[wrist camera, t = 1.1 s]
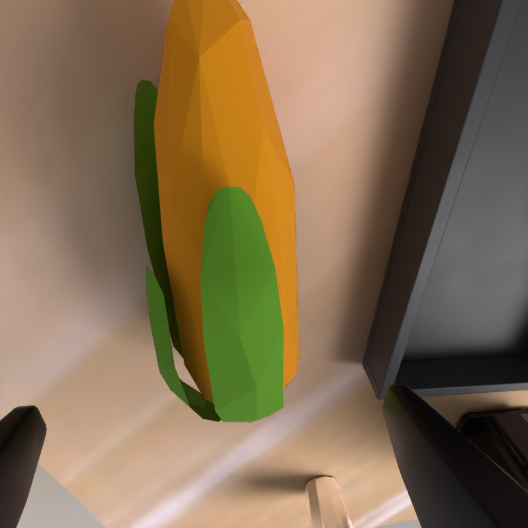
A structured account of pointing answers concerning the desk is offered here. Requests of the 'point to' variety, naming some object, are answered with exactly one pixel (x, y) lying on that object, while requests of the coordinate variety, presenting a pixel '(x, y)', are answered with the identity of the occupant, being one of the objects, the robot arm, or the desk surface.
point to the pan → (463, 221)
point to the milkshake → (326, 504)
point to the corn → (217, 217)
